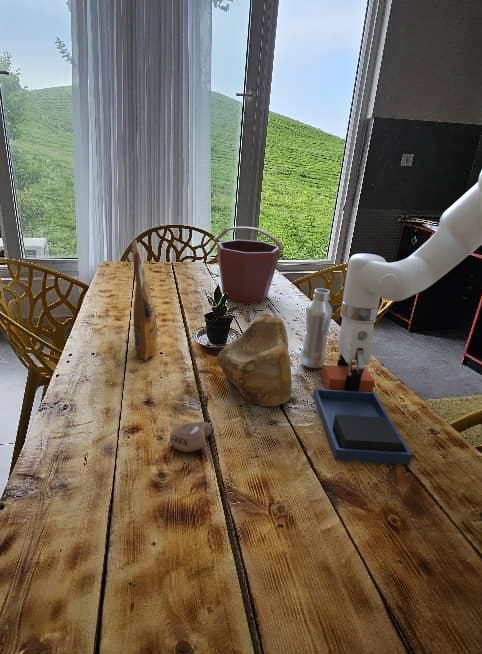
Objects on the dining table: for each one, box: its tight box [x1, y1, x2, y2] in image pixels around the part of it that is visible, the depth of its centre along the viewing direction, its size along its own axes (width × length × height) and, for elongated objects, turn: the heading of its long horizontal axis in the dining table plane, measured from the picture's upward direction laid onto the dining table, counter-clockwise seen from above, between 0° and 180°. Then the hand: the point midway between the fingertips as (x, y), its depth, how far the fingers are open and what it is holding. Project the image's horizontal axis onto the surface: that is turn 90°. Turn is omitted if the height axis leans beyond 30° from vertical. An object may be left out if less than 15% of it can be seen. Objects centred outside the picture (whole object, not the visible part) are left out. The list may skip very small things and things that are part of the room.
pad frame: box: [312, 388, 413, 465], centre depth 88 cm, size 13×21×2 cm, turn 177°
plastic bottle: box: [299, 288, 333, 369], centre depth 110 cm, size 6×7×20 cm
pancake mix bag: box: [131, 239, 158, 361], centre depth 114 cm, size 7×19×28 cm, turn 2°
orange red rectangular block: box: [321, 364, 376, 392], centre depth 103 cm, size 10×7×4 cm
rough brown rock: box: [216, 312, 292, 407], centre depth 100 cm, size 23×17×15 cm
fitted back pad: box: [333, 414, 402, 452], centre depth 83 cm, size 10×8×4 cm
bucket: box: [213, 226, 284, 304], centre depth 160 cm, size 24×22×25 cm
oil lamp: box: [169, 420, 215, 453], centre depth 82 cm, size 9×4×8 cm
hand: (346, 382), depth 103 cm, fingers closed on orange red rectangular block, 7 cm apart
